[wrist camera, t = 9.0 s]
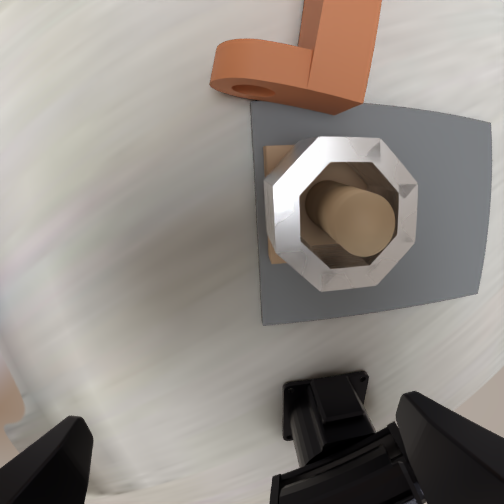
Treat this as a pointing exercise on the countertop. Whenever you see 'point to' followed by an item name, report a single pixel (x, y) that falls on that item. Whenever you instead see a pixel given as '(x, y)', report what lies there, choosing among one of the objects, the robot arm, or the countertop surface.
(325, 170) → the tan stamp
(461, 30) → the countertop surface
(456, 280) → the mat
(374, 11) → the crank
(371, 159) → the collar
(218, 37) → the countertop surface
